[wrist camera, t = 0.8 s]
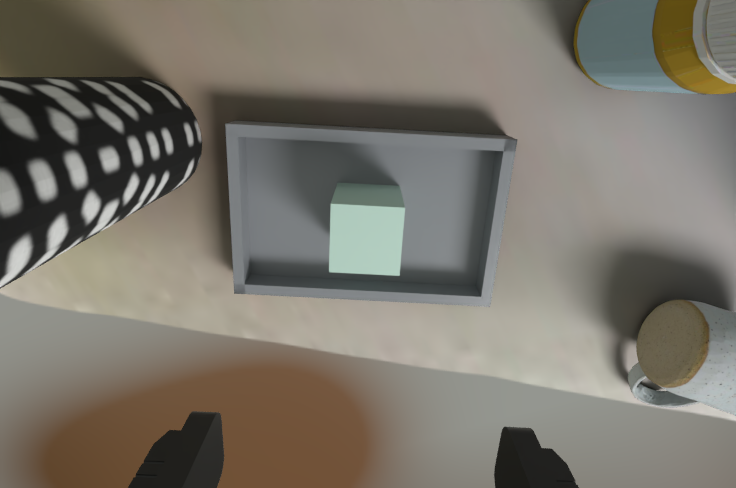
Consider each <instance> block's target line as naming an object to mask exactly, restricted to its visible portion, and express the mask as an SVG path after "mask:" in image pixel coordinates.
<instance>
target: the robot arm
mask: <svg viewBox="0 0 736 488" xmlns="http://www.w3.org/2000/svg"><path fill="white" fill-rule="evenodd" d="M223 462H224V448H223V435H222V421H221V415H220V413H216V412H192V413H191V414H190V415H189V417H188V419H187V420H186V422H185V424H184V426H183V428H182V430H181V431H177V430H169V431H168V432H167V433H166V434H165V435H164V436H162V437H161V438H160V439H159V440H158V441H157V442H155V443H154V445H153V446H152V448H151V449H150V451H149V453H148V455H147V456H146V458H145V460H144V463H143V464H142V465H141V467H140V468H139V470H138V472H137V473H136V477H135V478H133V480H132V482H131V483H130V485H129V487H128V488H217V486H218V483H219V480H220V477H221V474H222V469H223ZM494 477H495V488H579V487H578V485H576V483H575V479H574V477H573V475H572V473H571V471H570V470H569V468H568V465H567V464H566V463H565V462H564V461H563V460H562V459H561V458H560V457H559V456H558V455H557V454H556V453H555V452H554V451H553V450H552V449H546V448H545V449H544V448H541V446H540V444H539V442H538V440H537V438H536V435H535V433H534V431H533V430H532V429H531V428H516V427H504V428H503V430H502V433H501V438H500V443H499V448H498V454H497V459H496V464H495V473H494Z"/></svg>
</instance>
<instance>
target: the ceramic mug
mask: <svg viewBox="0 0 736 488" xmlns="http://www.w3.org/2000/svg"><path fill="white" fill-rule="evenodd" d="M637 356H638V361H639V362H638V363H637V364H636V365H634V366H633V367H632V369H631V370H630V372H629V374H628V382H629V386H630V389H631V392H632V393H633V395H634V397H635V398H637V399H638V400H640V401H641V402H643V403H646V404H649V405H652V406H657V407H667V408H674V407H683V406H688V405H692V404H697V403H703V404H706V405H708V406H711V407H713V408H716V409H719V410H722V411H724V412H727V413H730V414H733V415H735V416H736V312H732V311H728V310H724V309H721V308H718V307H715V306H712V305H709V304H706V303H702V302H698V301H690V300H671V301H667V302H665V303H663V304H661V305H659V306H658V307H656V308H655V309H654V310H653V311H652V312H651V313H650V314H649V315H648V316H647V317H646V319H645V320H644V322H643V324H642V326H641V328H640V331H639V334H638V338H637ZM646 377H647V378H648V379H650V380H651V381H652V382H653V383H655V384H657V385H658V386H660V387H662V388H663V389H665V390H667V391H656V390H652V389H650V388H647V387H645V386H642V384H640V382H641V381H642V380H644V379H645V378H646Z"/></svg>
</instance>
